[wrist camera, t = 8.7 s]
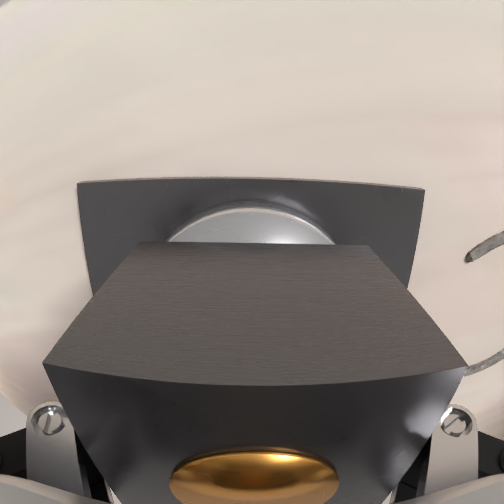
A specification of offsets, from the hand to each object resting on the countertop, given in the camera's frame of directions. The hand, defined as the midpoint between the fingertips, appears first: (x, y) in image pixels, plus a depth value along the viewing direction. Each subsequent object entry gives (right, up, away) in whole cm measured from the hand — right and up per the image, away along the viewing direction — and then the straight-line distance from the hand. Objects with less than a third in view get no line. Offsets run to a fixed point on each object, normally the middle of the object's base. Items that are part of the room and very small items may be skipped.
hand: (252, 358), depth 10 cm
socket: (0, 0, +1) cm, 1 cm away
